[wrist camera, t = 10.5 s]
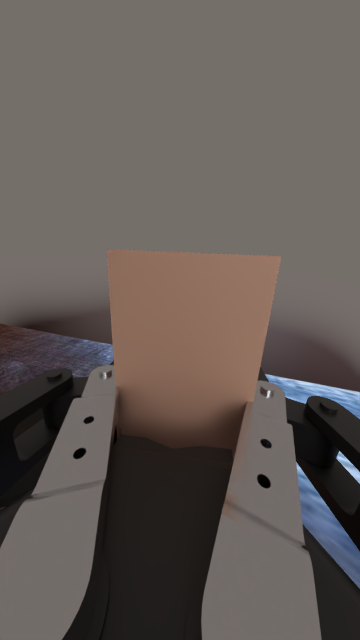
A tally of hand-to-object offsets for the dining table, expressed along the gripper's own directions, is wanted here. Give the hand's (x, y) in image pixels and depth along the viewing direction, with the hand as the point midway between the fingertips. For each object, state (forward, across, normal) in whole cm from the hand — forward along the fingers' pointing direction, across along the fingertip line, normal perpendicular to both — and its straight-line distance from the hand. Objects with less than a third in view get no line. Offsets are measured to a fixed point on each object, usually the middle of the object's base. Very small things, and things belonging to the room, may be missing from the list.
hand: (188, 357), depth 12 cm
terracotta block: (-3, 0, +8) cm, 8 cm away
